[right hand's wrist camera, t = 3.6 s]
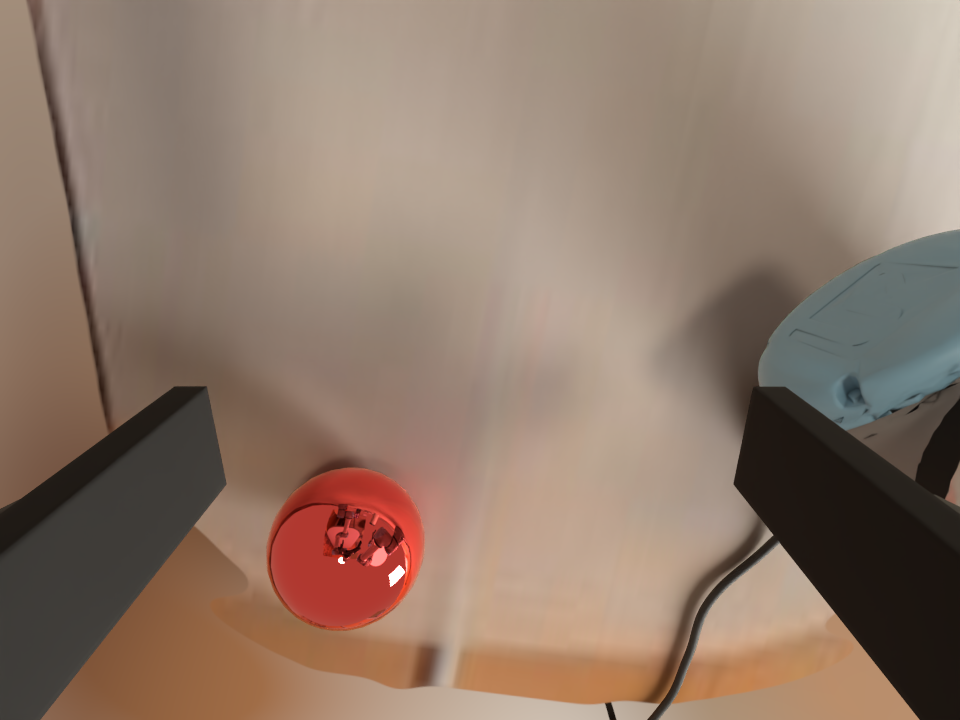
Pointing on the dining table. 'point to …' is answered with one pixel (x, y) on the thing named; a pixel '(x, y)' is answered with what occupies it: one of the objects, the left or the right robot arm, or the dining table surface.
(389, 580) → the ball
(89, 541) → the right robot arm
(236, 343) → the dining table surface
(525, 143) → the dining table surface
